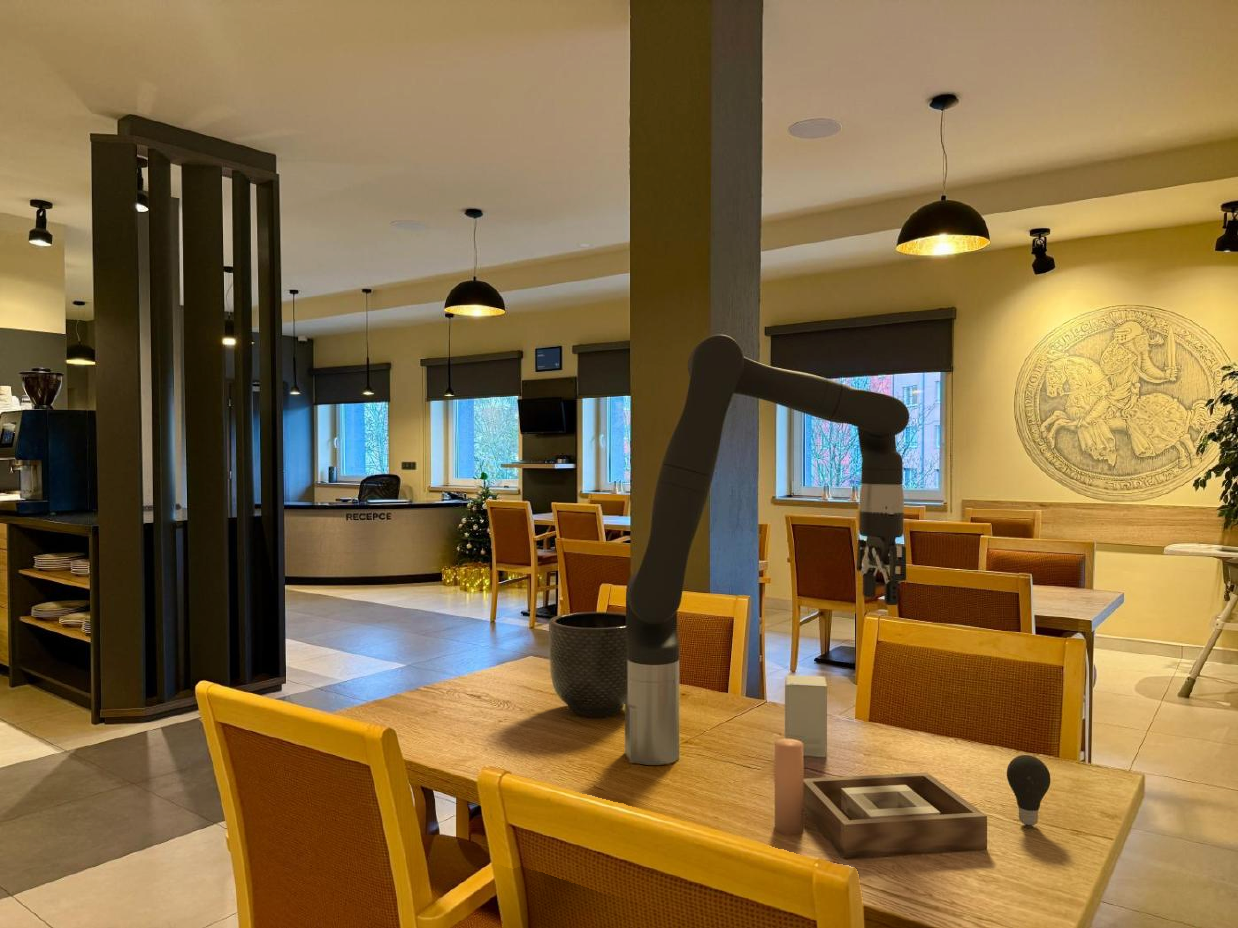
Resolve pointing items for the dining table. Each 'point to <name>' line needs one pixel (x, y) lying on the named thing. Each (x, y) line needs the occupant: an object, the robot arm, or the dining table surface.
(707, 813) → the dining table surface
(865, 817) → the box
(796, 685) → the supplement box
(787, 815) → the peg
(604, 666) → the planter
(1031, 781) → the light bulb
